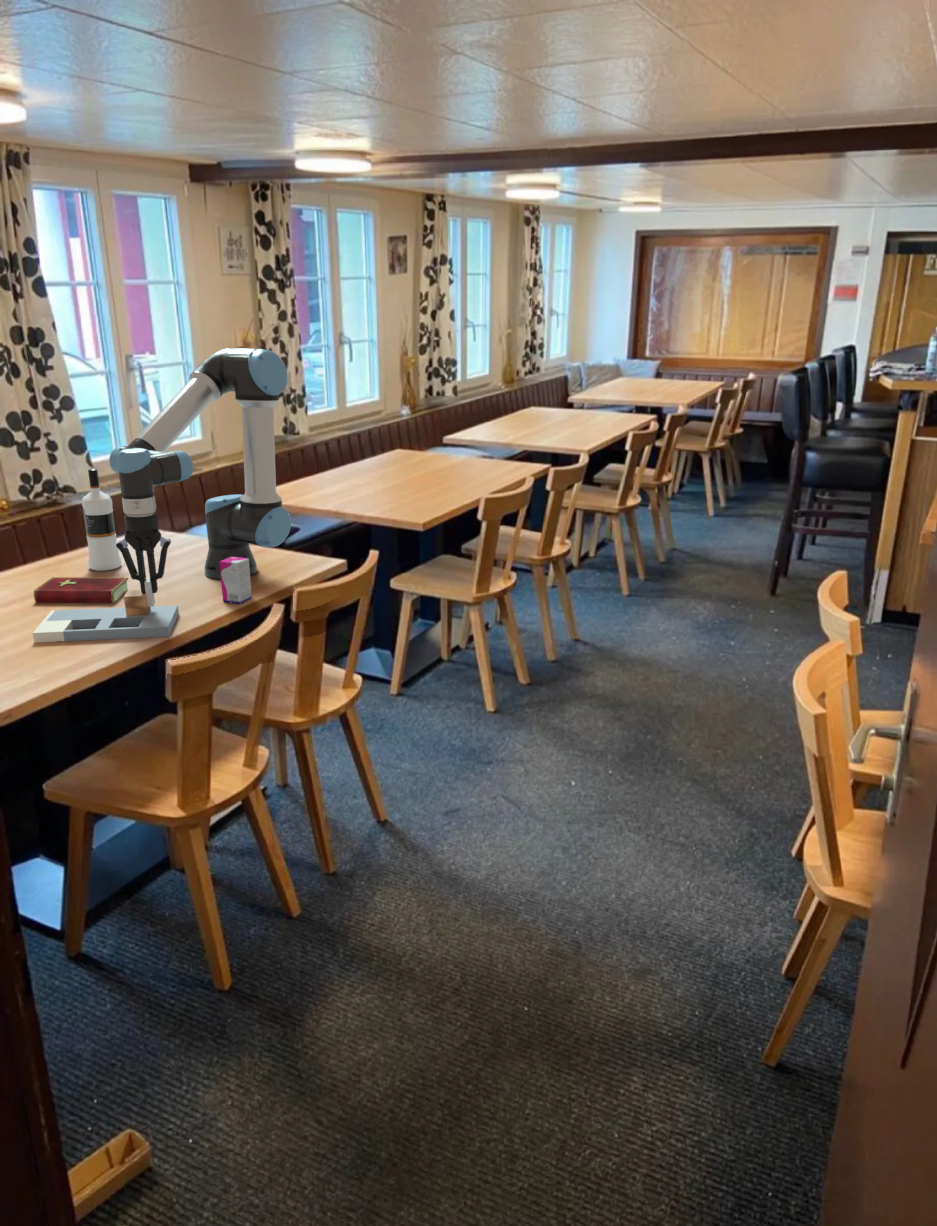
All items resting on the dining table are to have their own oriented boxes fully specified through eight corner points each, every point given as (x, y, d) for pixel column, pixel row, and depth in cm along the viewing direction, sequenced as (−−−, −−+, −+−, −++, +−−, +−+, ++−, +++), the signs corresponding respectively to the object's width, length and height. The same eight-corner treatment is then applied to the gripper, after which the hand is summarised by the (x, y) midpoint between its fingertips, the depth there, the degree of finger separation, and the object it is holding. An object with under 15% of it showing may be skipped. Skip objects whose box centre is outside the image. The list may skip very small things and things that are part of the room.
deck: (178, 614, 227) (177, 605, 226) (169, 636, 212) (167, 626, 211) (53, 619, 222) (51, 610, 221) (34, 642, 207) (32, 632, 206)
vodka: (119, 570, 262) (106, 471, 252) (86, 572, 260) (72, 472, 250) (123, 562, 271) (111, 465, 260) (91, 563, 269) (78, 466, 258)
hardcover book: (114, 605, 235) (112, 590, 233) (35, 604, 234) (32, 589, 233) (129, 591, 246) (127, 576, 244) (54, 590, 246) (52, 576, 244)
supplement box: (252, 597, 240) (249, 557, 236) (240, 604, 235) (237, 563, 231) (234, 595, 242) (231, 555, 238) (222, 601, 237) (218, 561, 233)
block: (150, 608, 224) (148, 589, 222) (147, 614, 219) (144, 595, 217) (130, 609, 223) (127, 590, 221) (126, 615, 218) (123, 596, 216)
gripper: (108, 517, 208) (121, 611, 216) (165, 516, 210) (175, 608, 218) (115, 510, 215) (127, 601, 223) (170, 509, 217) (180, 599, 225)
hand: (151, 604), depth 221 cm, fingers closed
